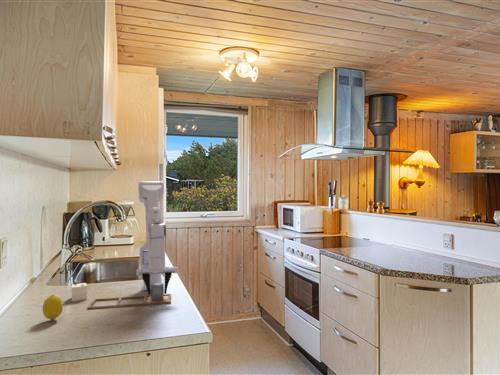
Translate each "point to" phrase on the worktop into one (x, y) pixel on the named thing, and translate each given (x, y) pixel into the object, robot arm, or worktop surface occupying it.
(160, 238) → the robot arm
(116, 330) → the worktop surface
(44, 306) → the lemon
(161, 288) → the grey rounded cylinder
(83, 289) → the die
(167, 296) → the board
